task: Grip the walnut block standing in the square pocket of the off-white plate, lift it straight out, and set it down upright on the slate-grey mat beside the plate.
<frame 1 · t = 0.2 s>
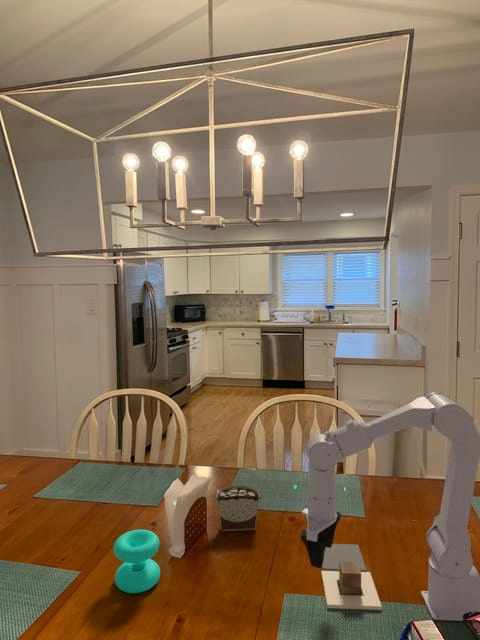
hand: (321, 555, 98), 10 cm above the table, tool pointing down, fingers open, 7 cm apart
block: (349, 591, 101), resting in pocket plate
pocket plate: (349, 591, 101), on the table
mat: (341, 557, 113), on the table
turquoise spool: (137, 581, 105), on the table
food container: (238, 524, 129), on the table
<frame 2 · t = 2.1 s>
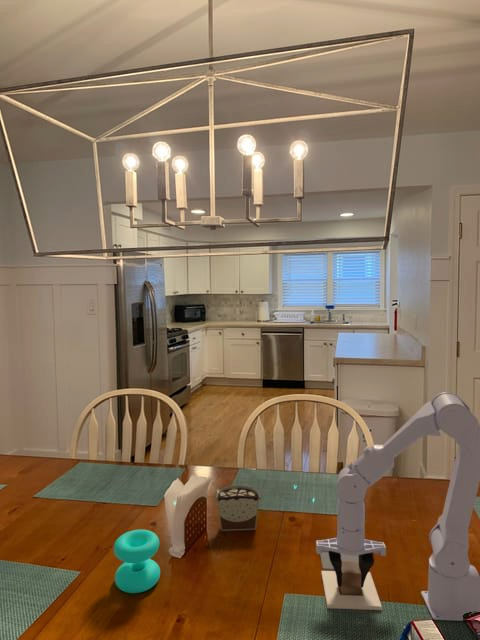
hand: (349, 584, 101), 2 cm above the table, tool pointing down, fingers closed on block, 4 cm apart
block: (349, 591, 101), resting in pocket plate, touching gripper
everything else where it was.
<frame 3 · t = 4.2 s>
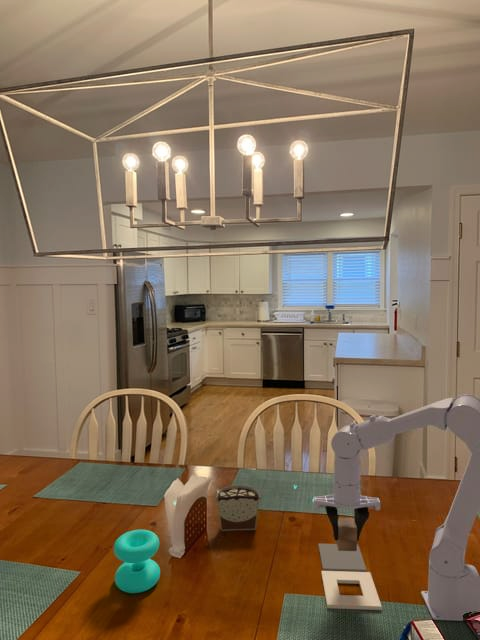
hand: (346, 538, 106), 9 cm above the table, tool pointing down, fingers closed on block, 4 cm apart
block: (346, 545, 106), point 7 cm above the table, touching gripper
everything else where it was.
when the fingers open (3 cm above the table, at t = 6.2 s): block drops 1 cm, resting on mat.
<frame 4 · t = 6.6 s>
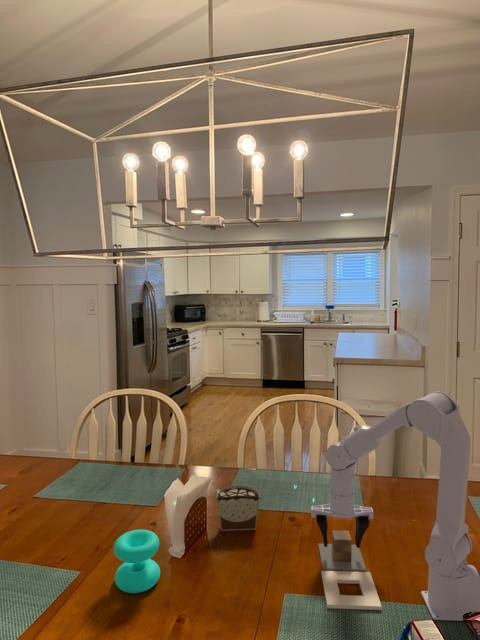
hand: (341, 545, 113), 3 cm above the table, tool pointing down, fingers open, 7 cm apart
block: (341, 556, 113), resting on mat
everything else where it was.
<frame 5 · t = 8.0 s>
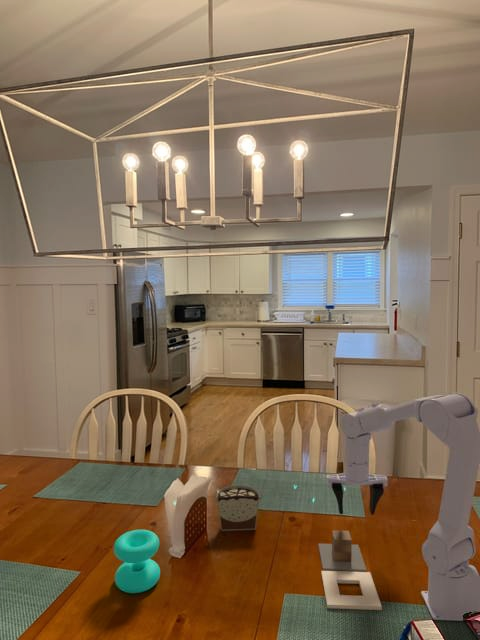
hand: (356, 512, 116), 9 cm above the table, tool pointing down, fingers open, 7 cm apart
nothing on the table moved.
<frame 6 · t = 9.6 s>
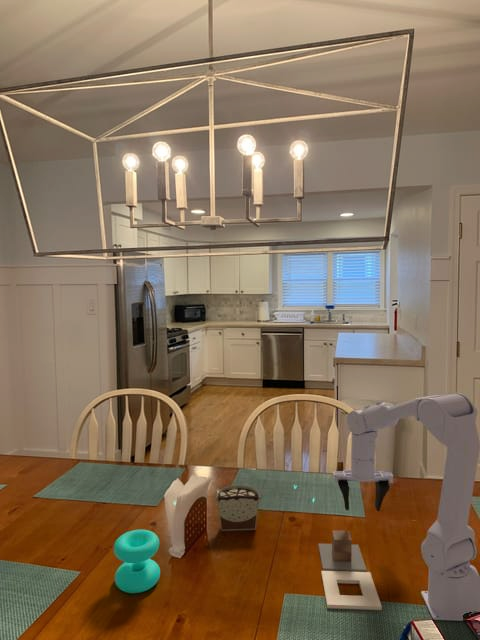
hand: (362, 508, 118), 9 cm above the table, tool pointing down, fingers open, 7 cm apart
nothing on the table moved.
at the end: block 0.3 cm off-centre on the mat, point 0.4 cm above the mat's base; block tilted 0°; block touching mat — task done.
